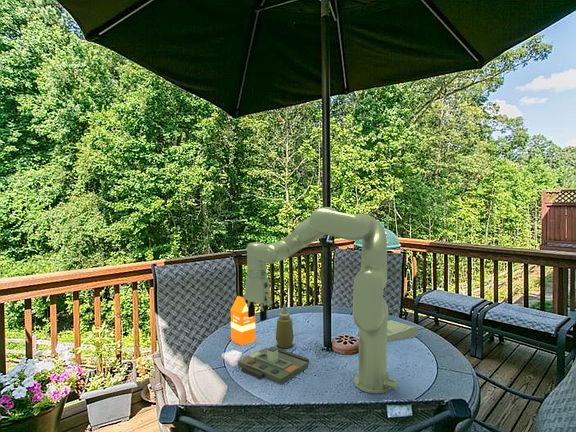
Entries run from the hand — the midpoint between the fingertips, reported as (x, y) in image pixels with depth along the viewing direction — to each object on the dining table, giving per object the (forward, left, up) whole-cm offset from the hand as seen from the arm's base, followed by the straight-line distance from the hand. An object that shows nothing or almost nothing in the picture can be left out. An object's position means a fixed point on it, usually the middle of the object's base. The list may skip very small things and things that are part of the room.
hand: (257, 318), depth 143 cm
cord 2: (-8, -11, -18) cm, 22 cm away
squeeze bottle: (+1, -18, -18) cm, 25 cm away
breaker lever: (-8, 0, -15) cm, 17 cm away
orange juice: (+20, -11, -18) cm, 29 cm away
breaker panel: (-8, 0, -18) cm, 19 cm away
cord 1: (-6, +9, -18) cm, 21 cm away
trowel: (-30, -56, -18) cm, 66 cm away
